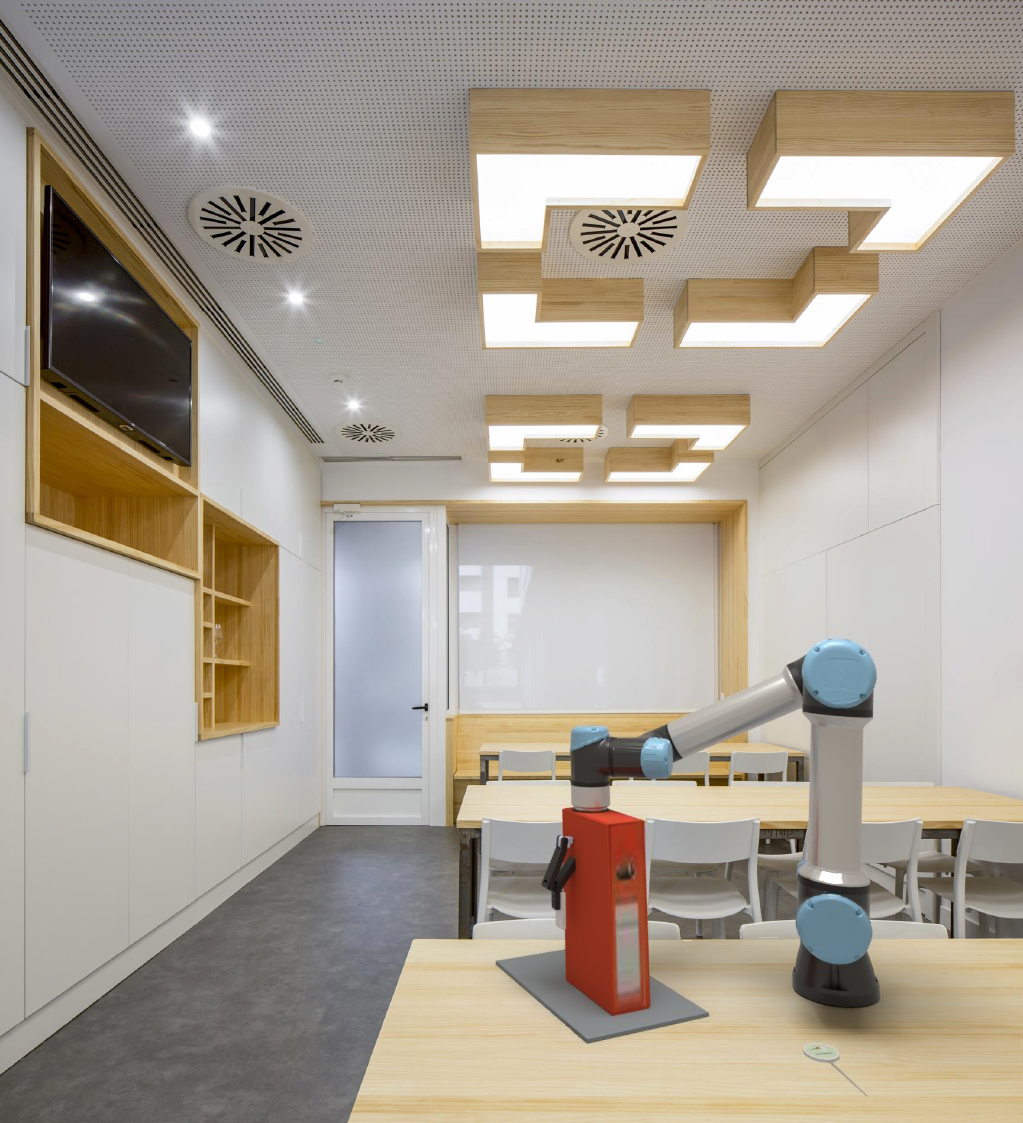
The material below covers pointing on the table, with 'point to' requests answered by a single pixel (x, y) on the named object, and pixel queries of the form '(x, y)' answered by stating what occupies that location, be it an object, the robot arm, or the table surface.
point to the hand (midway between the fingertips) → (592, 922)
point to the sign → (825, 1056)
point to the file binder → (607, 910)
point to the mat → (582, 1013)
